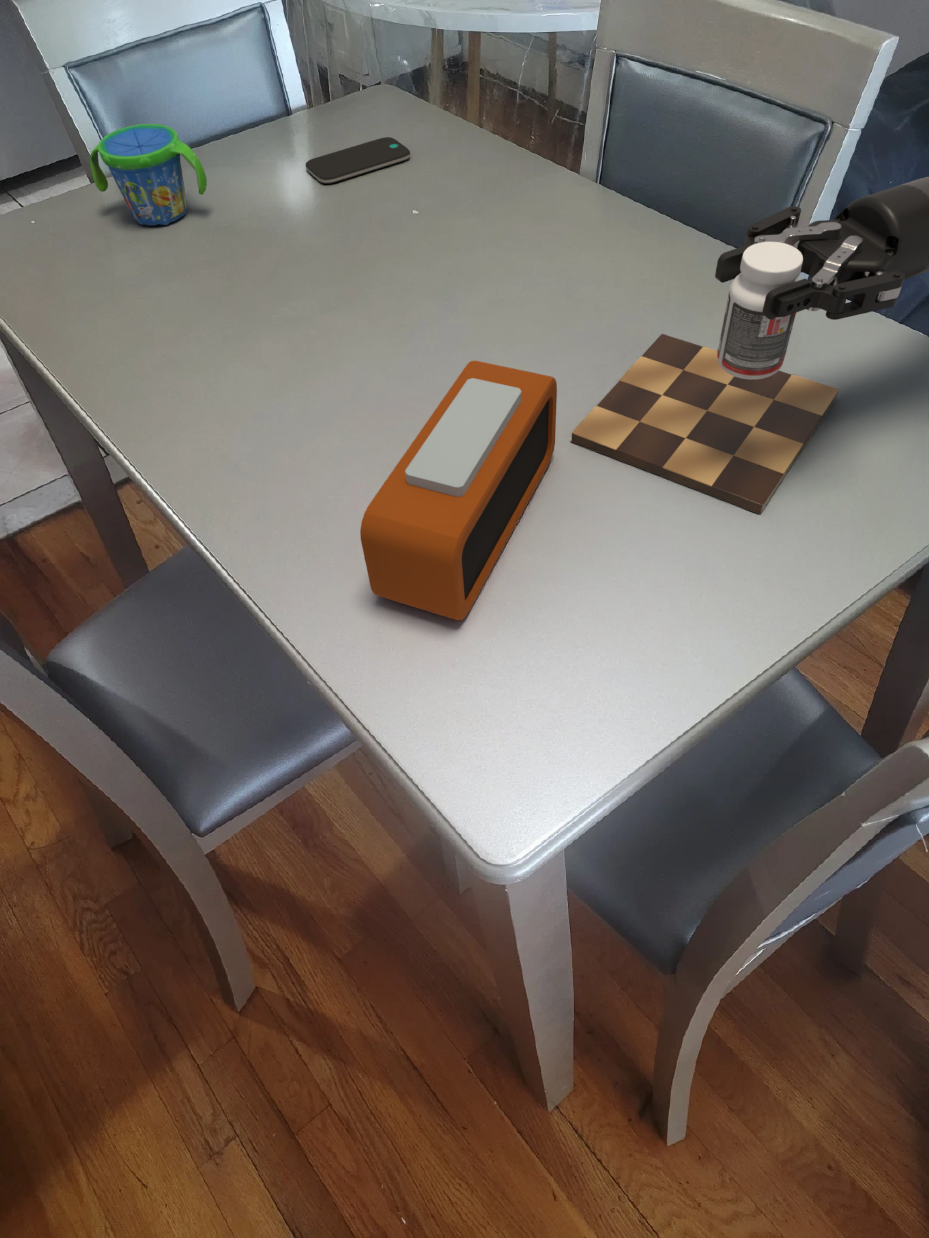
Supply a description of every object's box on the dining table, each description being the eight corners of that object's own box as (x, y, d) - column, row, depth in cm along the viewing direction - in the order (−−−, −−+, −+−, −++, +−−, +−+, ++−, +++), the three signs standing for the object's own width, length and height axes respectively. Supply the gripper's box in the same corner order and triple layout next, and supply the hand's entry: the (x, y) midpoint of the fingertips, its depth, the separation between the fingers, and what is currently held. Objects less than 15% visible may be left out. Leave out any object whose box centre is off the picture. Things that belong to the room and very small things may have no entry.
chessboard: (836, 398, 90) (839, 389, 89) (759, 515, 80) (762, 505, 79) (660, 342, 97) (661, 333, 96) (571, 442, 87) (571, 432, 86)
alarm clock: (460, 631, 73) (451, 537, 64) (372, 604, 75) (352, 510, 66) (555, 454, 86) (559, 357, 78) (478, 436, 89) (474, 339, 80)
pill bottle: (794, 373, 75) (824, 266, 68) (735, 388, 75) (758, 282, 67) (761, 338, 79) (786, 232, 71) (704, 352, 78) (723, 246, 70)
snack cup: (227, 201, 124) (207, 126, 116) (195, 238, 118) (171, 161, 110) (131, 194, 127) (105, 119, 119) (94, 229, 121) (64, 153, 113)
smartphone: (414, 152, 129) (322, 180, 124) (414, 158, 129) (324, 186, 125) (390, 135, 133) (301, 161, 129) (391, 140, 134) (302, 167, 129)
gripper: (860, 154, 75) (697, 205, 71) (990, 224, 67) (813, 286, 63) (836, 237, 81) (684, 289, 77) (952, 312, 72) (788, 373, 69)
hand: (743, 287), depth 70 cm, fingers closed on pill bottle, 5 cm apart
